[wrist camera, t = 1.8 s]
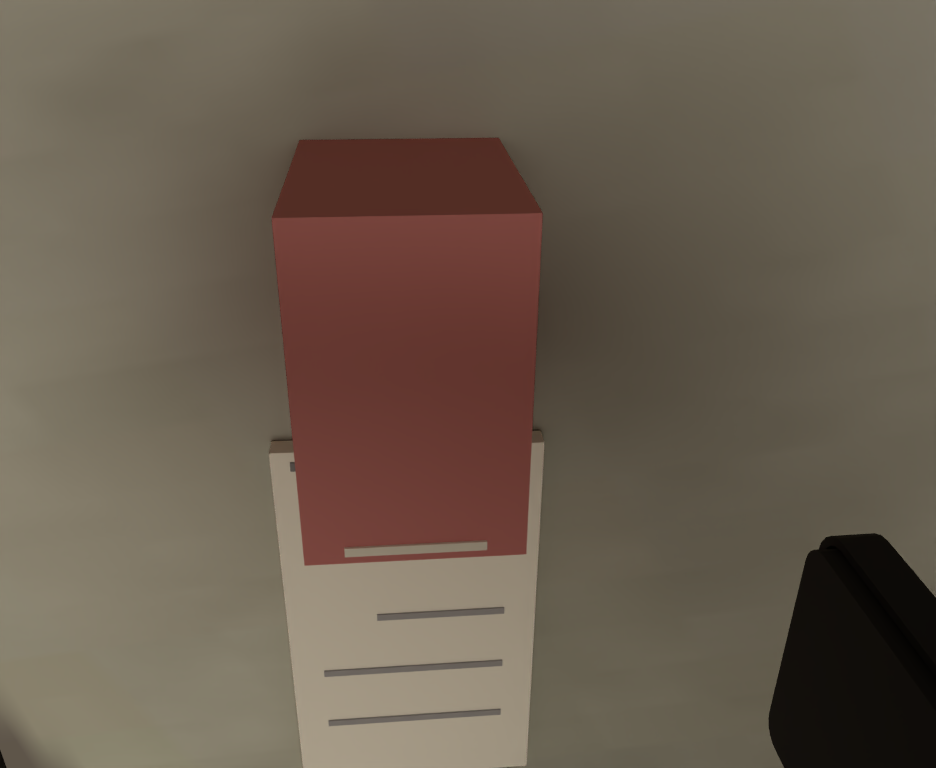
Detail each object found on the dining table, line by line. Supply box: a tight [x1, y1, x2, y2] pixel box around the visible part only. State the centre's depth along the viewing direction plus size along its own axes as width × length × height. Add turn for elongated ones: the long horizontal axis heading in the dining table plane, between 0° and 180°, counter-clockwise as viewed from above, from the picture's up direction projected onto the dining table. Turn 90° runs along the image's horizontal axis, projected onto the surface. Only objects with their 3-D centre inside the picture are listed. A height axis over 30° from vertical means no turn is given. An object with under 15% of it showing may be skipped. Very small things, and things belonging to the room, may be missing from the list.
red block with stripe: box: [272, 138, 543, 566], centre depth 19 cm, size 4×7×6 cm, turn 0°
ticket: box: [269, 431, 544, 768], centre depth 26 cm, size 7×12×1 cm, turn 0°
